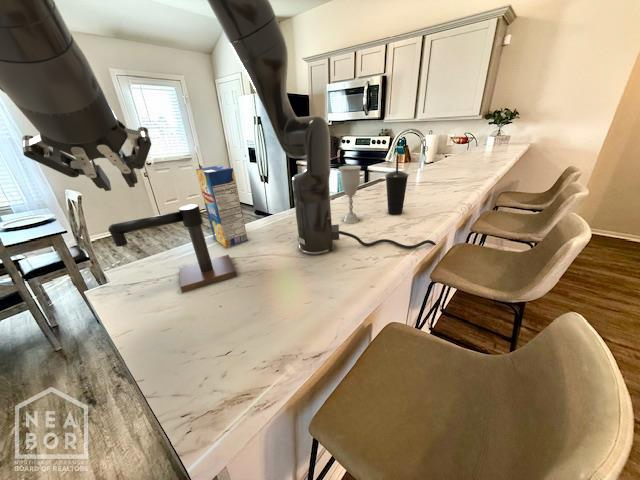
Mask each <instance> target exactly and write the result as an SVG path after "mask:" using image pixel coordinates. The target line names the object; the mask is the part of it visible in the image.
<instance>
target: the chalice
mask: <svg viewBox="0 0 640 480" xmlns="http://www.w3.org/2000/svg"><path fill="white" fill-rule="evenodd" d="M361 169H362V166H361V165H343V166H339V167H338V171H340V172H339V173H340V185H341V188H342V190H343V192H344V194H345V196H347V197H348V201H347V202H348V207H347V208H348V210H349V212H348V213H346V215H345V216H344V219H343V222H344V223H346V224H355V223H358V222H359V219H358V216H357V214H356V213H355V212H353V209H354V206H353V203H354V201H353V197H354V196H355V195H356V193H357V191H358V189H359V186H360V183H361V177H360V176H361V174H360V173H361V172H360V171H361Z"/></svg>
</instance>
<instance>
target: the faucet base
mask: <svg viewBox="0 0 640 480" xmlns="http://www.w3.org/2000/svg"><path fill="white" fill-rule="evenodd" d="M187 230H188V234H189V237H190V241H191V243H192V247H193V251H194V254H195V257H196V260H197V262H196V263H193V264H188V265H185V266H181V267H179V283H180V285H179V286H180V290H181V293H186V292H189V291H193V290H195V289H200V288H202V287H205V286H208V285H213V284H216V283H218V282H222V281H225V280H229V279H232V278H236V277H237V276H238V273H237V270H236V268H235V265H234V263H233V261H232V259H231V257H230V255H229V254H226V255H222V256H218V257H213V258H211V256H210V253H209V249H208V246H207V241H206V238H205V234H204V231H203V226H202V224H201V225H199V226H195V227H187Z"/></svg>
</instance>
